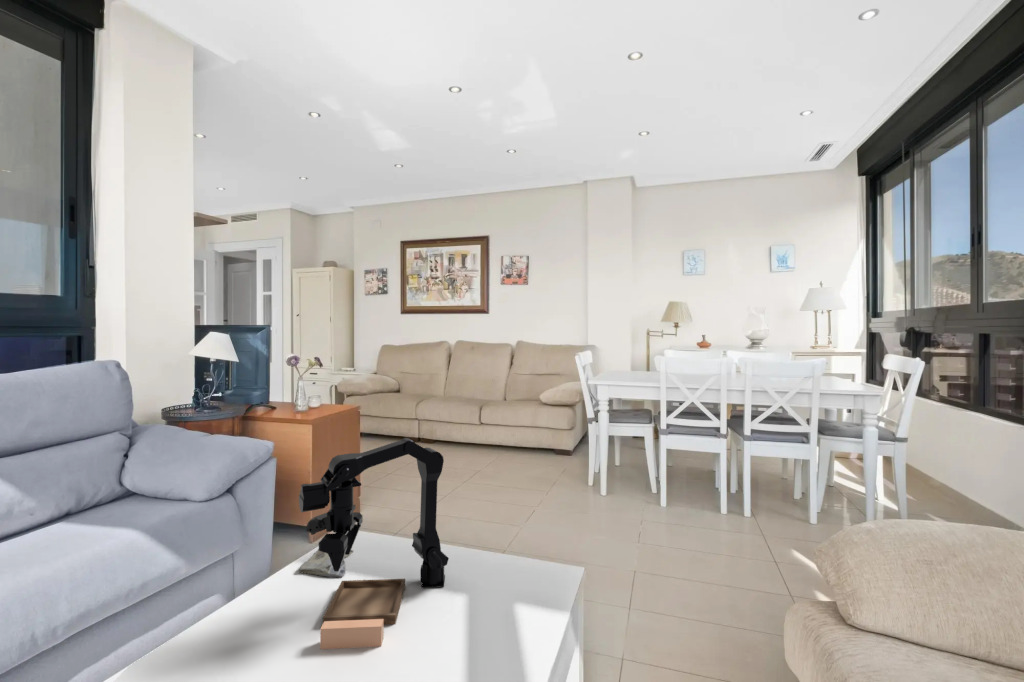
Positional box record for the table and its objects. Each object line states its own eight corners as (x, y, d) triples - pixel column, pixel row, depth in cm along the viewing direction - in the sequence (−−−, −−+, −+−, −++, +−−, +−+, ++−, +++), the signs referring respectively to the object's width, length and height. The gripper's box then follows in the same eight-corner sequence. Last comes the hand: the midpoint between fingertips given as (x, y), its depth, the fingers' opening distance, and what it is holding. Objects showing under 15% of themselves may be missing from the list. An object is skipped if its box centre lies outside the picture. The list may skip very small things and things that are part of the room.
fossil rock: (318, 552, 164) (319, 545, 164) (362, 553, 164) (362, 546, 164) (293, 578, 147) (293, 570, 147) (342, 579, 146) (342, 572, 146)
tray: (405, 586, 142) (405, 578, 142) (395, 624, 124) (395, 614, 124) (341, 588, 140) (341, 580, 140) (322, 627, 122) (322, 617, 122)
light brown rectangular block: (383, 639, 118) (383, 618, 118) (381, 647, 115) (381, 626, 115) (324, 641, 117) (324, 621, 117) (320, 649, 114) (320, 628, 114)
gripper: (323, 492, 138) (323, 547, 138) (297, 518, 119) (297, 581, 120) (363, 492, 138) (363, 546, 139) (343, 517, 120) (343, 580, 120)
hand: (342, 562), depth 129 cm, fingers open, 9 cm apart
